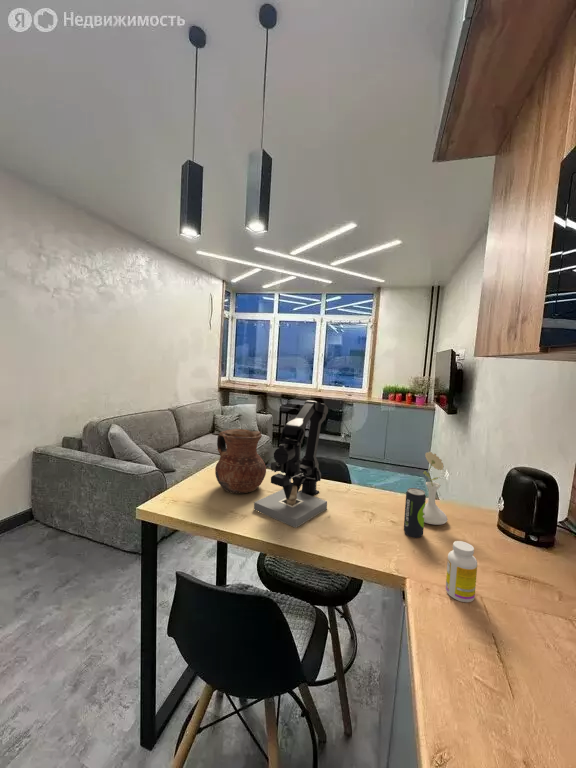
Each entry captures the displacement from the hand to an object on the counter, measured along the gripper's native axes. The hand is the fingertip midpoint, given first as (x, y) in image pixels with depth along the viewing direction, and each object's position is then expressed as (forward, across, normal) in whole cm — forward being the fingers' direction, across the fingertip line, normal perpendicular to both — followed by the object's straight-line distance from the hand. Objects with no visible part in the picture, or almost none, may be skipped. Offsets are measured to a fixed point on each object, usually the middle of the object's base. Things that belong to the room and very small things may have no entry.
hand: (291, 496), depth 130 cm
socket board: (+5, 0, 0) cm, 5 cm away
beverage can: (+5, -14, +42) cm, 45 cm away
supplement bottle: (+5, +8, +61) cm, 62 cm away
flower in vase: (+5, -29, +43) cm, 52 cm away
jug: (+5, -1, -29) cm, 29 cm away
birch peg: (+4, 0, 0) cm, 4 cm away
